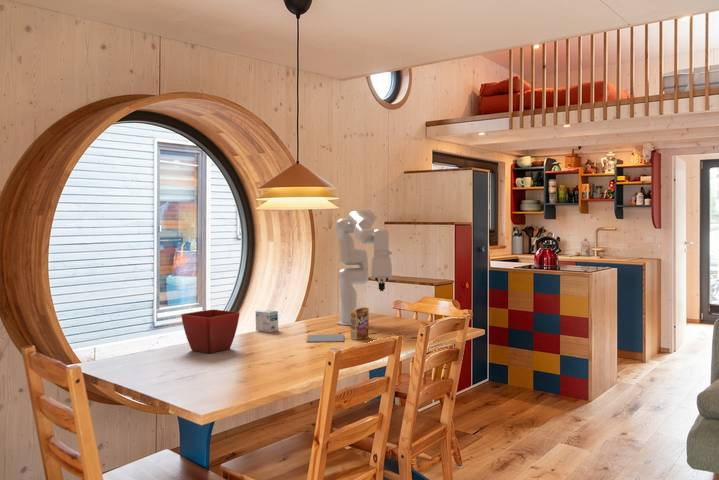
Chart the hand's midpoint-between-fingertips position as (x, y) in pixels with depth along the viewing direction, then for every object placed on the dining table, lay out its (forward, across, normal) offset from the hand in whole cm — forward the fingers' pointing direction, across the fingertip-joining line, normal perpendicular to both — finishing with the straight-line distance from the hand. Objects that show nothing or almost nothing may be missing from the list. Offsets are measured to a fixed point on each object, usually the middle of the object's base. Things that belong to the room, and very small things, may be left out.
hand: (381, 290), depth 293 cm
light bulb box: (+23, +60, -24) cm, 69 cm away
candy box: (+24, +11, 0) cm, 26 cm away
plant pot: (+24, +80, +20) cm, 86 cm away
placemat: (+24, +28, 0) cm, 37 cm away
